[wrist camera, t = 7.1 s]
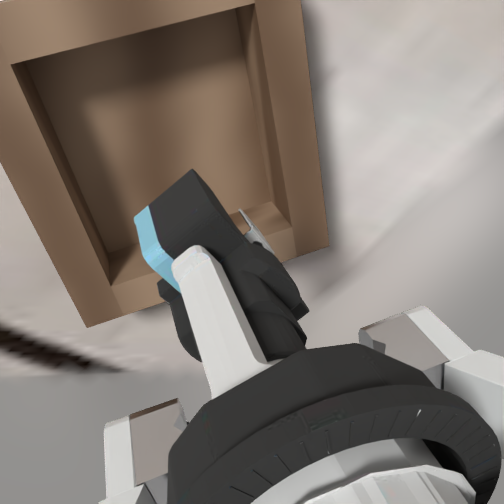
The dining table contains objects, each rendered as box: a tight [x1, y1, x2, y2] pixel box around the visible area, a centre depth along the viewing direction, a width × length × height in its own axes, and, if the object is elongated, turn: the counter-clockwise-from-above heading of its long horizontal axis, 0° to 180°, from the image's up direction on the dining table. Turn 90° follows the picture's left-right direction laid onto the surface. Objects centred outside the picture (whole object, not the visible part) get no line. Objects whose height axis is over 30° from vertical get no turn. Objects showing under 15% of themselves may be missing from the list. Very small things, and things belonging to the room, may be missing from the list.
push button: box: [134, 169, 502, 504], centre depth 11 cm, size 7×5×10 cm
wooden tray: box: [0, 0, 329, 328], centre depth 24 cm, size 14×15×4 cm
